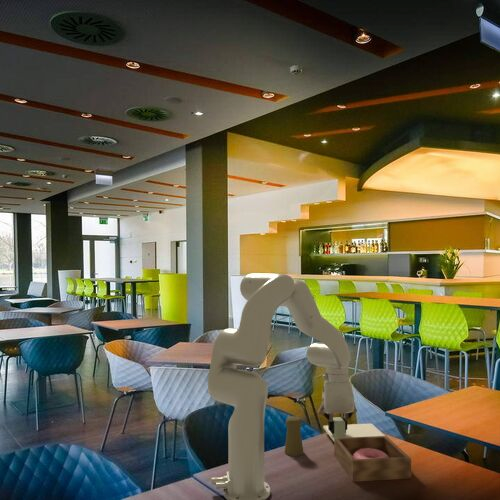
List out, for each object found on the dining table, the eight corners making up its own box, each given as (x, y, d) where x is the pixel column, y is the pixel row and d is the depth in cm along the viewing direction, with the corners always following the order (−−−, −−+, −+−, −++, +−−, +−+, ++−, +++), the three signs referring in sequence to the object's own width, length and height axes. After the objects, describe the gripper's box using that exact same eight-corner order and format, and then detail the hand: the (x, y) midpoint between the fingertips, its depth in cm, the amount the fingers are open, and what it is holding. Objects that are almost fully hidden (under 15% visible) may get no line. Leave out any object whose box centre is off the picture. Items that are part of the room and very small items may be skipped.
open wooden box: (353, 481, 124) (352, 461, 124) (334, 456, 141) (334, 438, 141) (411, 478, 126) (411, 458, 126) (386, 453, 143) (385, 435, 143)
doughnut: (350, 472, 130) (350, 457, 130) (354, 457, 141) (354, 443, 141) (389, 477, 127) (389, 462, 127) (390, 461, 137) (390, 447, 137)
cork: (303, 448, 147) (303, 414, 147) (303, 456, 141) (303, 421, 141) (284, 448, 147) (284, 414, 148) (284, 455, 141) (284, 420, 142)
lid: (339, 448, 143) (338, 429, 143) (323, 428, 161) (323, 411, 161) (393, 445, 145) (392, 427, 145) (371, 425, 163) (371, 409, 163)
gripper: (316, 381, 148) (317, 437, 147) (364, 379, 150) (365, 435, 149) (310, 375, 156) (311, 429, 155) (356, 374, 157) (357, 427, 157)
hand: (337, 431), depth 152 cm, fingers closed on lid, 3 cm apart
